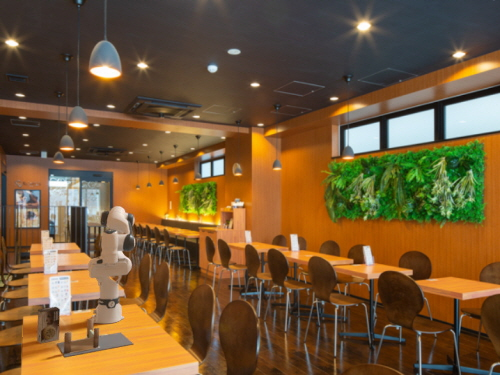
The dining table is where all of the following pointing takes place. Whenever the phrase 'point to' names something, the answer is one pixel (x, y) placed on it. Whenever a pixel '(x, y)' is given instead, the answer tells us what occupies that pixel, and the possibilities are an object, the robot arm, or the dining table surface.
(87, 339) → the fence fixed
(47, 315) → the coffee box
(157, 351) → the dining table surface
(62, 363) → the dining table surface
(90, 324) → the gate
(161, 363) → the dining table surface
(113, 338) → the board
